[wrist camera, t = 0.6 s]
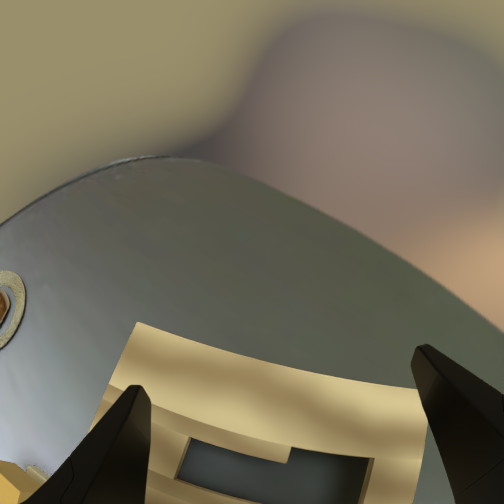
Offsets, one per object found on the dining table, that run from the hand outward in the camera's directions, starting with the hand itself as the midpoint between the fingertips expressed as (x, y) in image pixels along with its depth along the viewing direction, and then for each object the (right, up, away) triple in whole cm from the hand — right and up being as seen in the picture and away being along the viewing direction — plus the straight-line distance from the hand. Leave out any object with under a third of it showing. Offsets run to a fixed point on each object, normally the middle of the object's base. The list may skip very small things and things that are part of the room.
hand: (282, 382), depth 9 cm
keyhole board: (-1, -13, +10) cm, 17 cm away
